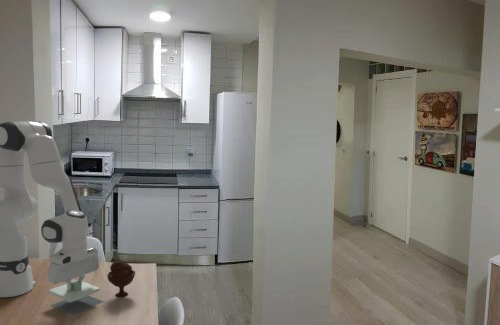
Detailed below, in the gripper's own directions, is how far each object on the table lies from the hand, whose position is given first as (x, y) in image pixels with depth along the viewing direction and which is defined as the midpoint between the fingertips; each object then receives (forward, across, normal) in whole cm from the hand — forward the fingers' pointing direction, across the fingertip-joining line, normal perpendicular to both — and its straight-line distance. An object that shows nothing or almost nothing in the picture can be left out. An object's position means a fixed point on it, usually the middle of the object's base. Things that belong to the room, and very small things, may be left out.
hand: (74, 287), depth 161 cm
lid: (+2, 0, 0) cm, 2 cm away
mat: (+7, -1, +1) cm, 7 cm away
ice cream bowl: (+6, -16, +9) cm, 19 cm away
